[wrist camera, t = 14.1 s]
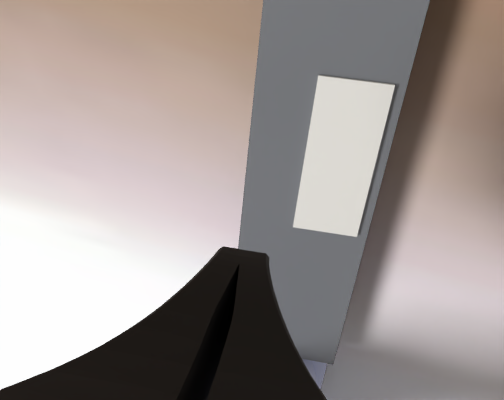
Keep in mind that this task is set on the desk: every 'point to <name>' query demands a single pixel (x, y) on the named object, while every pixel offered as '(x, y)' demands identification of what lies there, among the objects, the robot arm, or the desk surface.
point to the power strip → (323, 149)
